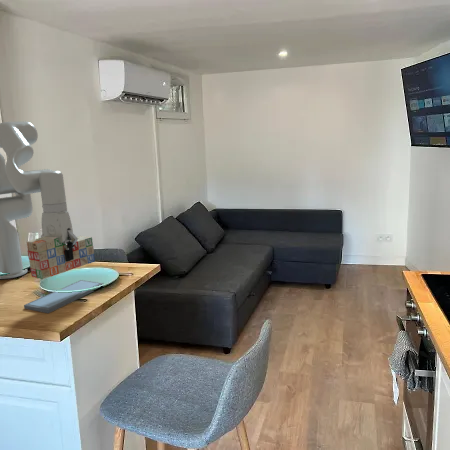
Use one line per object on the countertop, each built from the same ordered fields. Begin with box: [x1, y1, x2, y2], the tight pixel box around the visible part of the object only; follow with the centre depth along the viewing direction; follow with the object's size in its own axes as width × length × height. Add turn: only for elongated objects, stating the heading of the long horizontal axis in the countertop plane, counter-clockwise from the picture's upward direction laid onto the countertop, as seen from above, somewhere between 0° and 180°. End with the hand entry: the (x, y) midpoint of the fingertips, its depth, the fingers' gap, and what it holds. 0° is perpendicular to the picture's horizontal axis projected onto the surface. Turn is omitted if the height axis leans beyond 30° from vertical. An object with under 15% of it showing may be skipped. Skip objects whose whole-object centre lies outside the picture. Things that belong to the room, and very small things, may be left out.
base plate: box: [23, 279, 104, 314], centre depth 158 cm, size 11×26×1 cm, turn 153°
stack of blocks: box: [26, 235, 96, 280], centre depth 155 cm, size 21×6×12 cm, turn 145°
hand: (61, 259), depth 155 cm, fingers closed on stack of blocks, 6 cm apart
